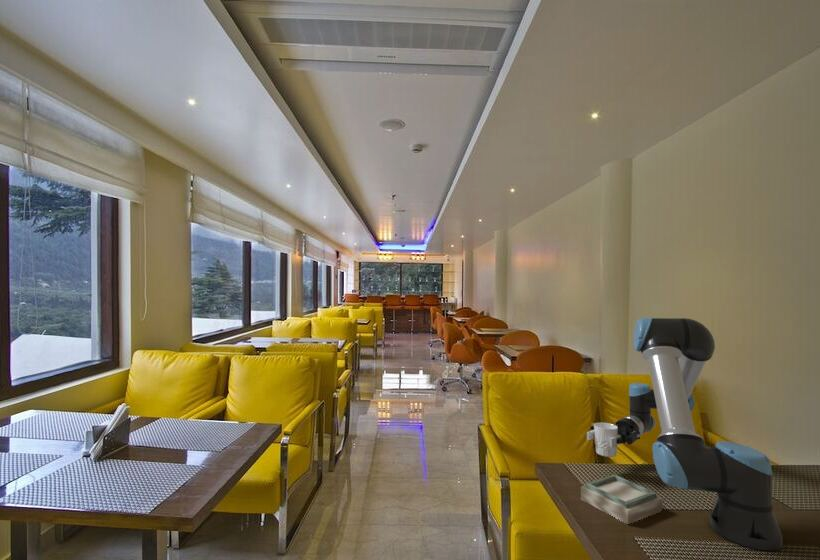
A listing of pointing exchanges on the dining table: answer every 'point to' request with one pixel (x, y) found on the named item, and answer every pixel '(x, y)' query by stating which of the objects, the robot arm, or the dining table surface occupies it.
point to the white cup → (605, 439)
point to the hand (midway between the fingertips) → (599, 439)
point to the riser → (621, 498)
